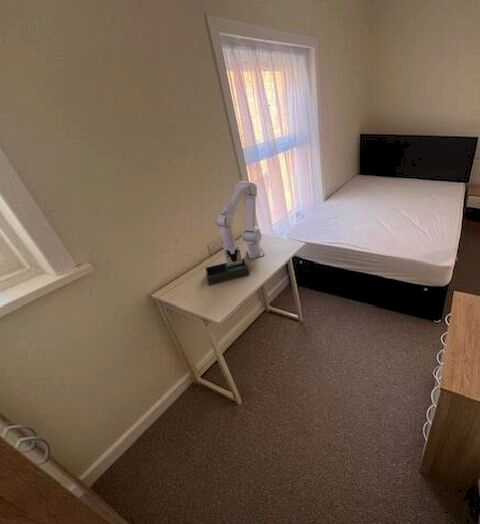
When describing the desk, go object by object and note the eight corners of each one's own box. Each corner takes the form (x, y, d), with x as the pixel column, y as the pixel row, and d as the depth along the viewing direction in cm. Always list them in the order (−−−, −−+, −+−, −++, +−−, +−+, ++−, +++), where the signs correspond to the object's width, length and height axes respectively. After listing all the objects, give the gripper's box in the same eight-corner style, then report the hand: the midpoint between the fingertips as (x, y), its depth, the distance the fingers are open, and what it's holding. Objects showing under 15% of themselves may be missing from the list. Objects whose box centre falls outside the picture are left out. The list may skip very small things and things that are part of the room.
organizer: (207, 274, 156) (205, 267, 153) (245, 265, 163) (243, 258, 160) (209, 285, 148) (206, 277, 145) (248, 274, 155) (247, 267, 152)
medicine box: (228, 267, 151) (224, 253, 146) (226, 263, 154) (223, 249, 149) (243, 263, 154) (239, 249, 149) (241, 259, 157) (238, 246, 152)
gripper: (218, 232, 149) (224, 254, 156) (221, 244, 138) (228, 267, 145) (232, 229, 151) (237, 251, 159) (236, 241, 140) (241, 264, 148)
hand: (233, 259), depth 152 cm, fingers closed on medicine box, 4 cm apart
